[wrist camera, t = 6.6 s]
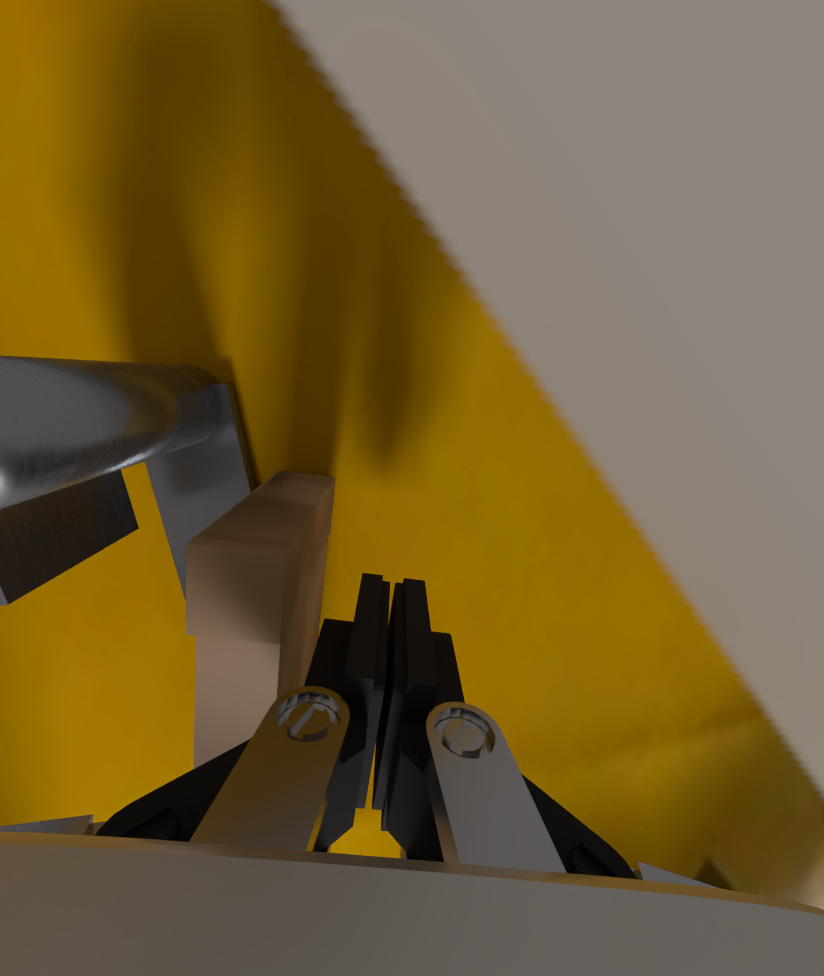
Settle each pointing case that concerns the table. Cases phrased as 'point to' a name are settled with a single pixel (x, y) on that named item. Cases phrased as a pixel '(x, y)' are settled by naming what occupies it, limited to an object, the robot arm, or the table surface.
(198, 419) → the gate posts
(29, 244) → the table surface
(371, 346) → the table surface
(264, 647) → the gate
